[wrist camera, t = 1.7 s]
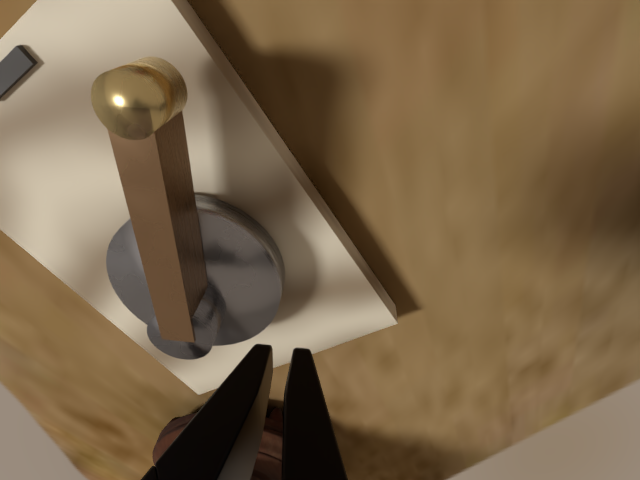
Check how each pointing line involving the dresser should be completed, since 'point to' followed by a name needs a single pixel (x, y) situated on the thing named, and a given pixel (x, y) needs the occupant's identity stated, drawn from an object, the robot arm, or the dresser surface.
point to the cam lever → (179, 225)
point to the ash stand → (206, 167)
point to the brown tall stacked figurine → (269, 452)
